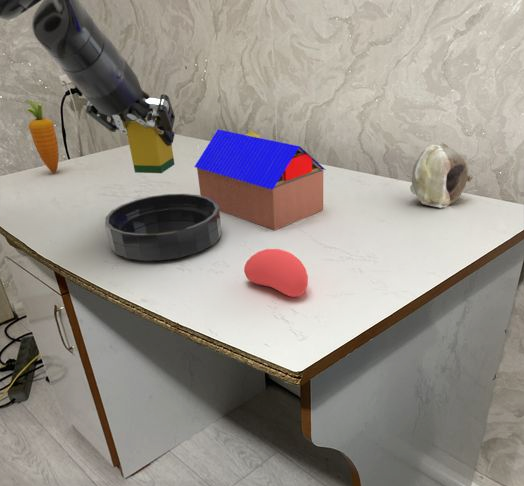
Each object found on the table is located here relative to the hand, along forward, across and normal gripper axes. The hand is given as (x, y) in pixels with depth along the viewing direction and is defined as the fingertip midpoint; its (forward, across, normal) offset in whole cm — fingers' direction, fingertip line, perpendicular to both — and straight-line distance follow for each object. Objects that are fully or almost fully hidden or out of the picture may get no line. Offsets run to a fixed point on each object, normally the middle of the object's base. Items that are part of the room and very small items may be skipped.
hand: (155, 140), depth 89 cm
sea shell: (+16, -46, +2) cm, 49 cm away
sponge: (+2, 0, +4) cm, 5 cm away
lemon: (+25, -9, -8) cm, 27 cm away
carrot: (+21, +37, -4) cm, 42 cm away
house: (+11, -17, +6) cm, 21 cm away
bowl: (-1, -6, +18) cm, 19 cm away
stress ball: (-9, -28, +26) cm, 39 cm away
